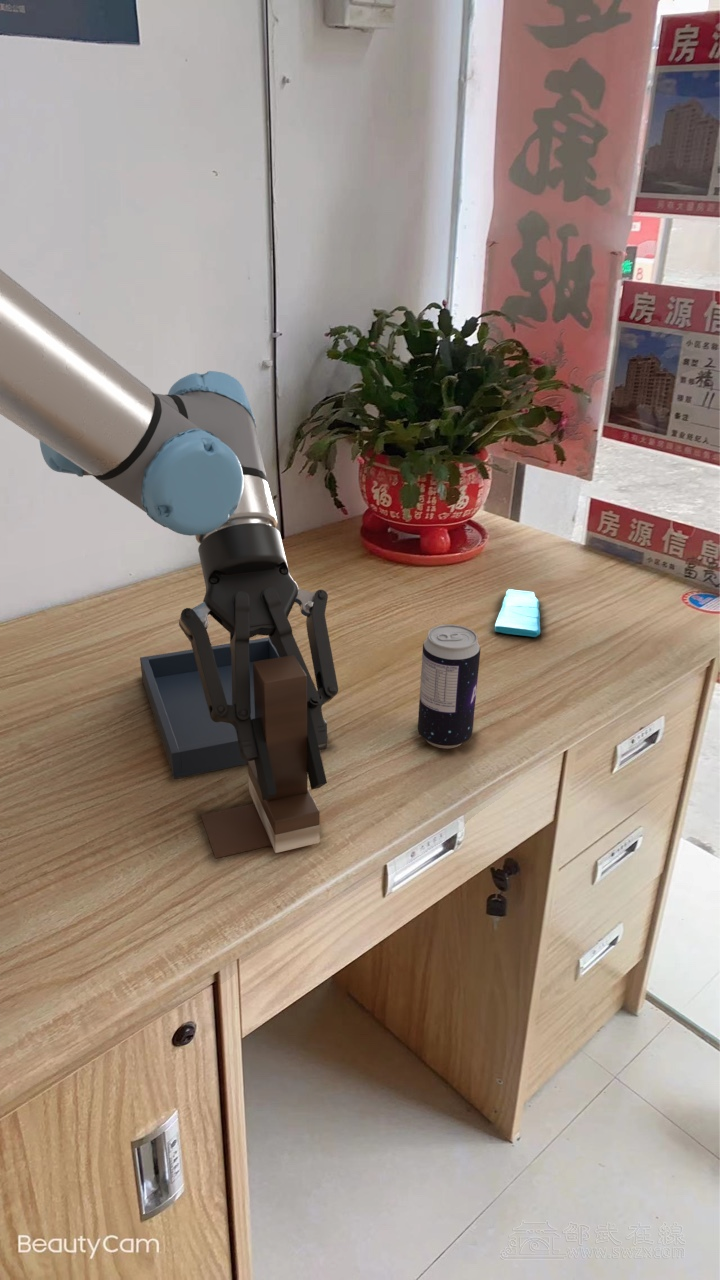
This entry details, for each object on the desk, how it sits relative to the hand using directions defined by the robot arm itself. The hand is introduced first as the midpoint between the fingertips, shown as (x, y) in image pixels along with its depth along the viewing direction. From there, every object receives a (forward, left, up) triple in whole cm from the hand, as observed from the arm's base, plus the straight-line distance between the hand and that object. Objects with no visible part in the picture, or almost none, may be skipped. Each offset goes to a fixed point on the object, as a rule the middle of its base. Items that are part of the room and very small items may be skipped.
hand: (294, 791), depth 74 cm
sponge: (+42, +33, -6) cm, 53 cm away
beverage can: (+20, +11, -6) cm, 23 cm away
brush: (0, +4, -6) cm, 7 cm away
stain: (-2, +4, -6) cm, 8 cm away
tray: (0, +23, -6) cm, 24 cm away
